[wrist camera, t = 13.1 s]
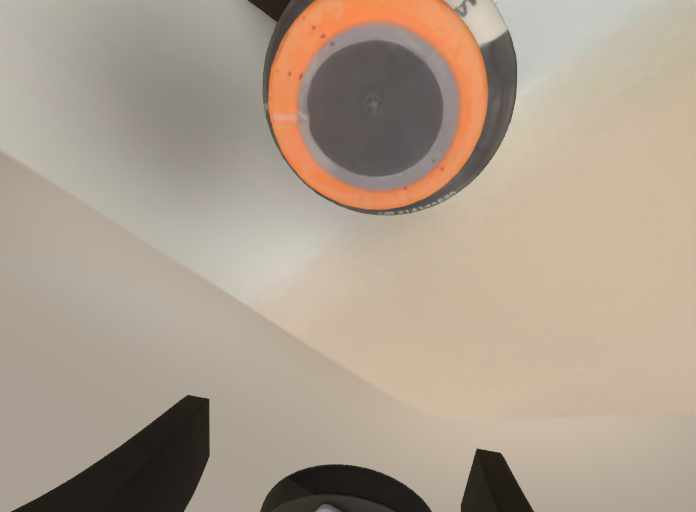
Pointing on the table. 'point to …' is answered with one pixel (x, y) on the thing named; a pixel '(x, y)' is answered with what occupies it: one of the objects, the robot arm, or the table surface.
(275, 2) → the strip
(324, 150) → the pill bottle
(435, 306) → the table surface
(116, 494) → the robot arm
